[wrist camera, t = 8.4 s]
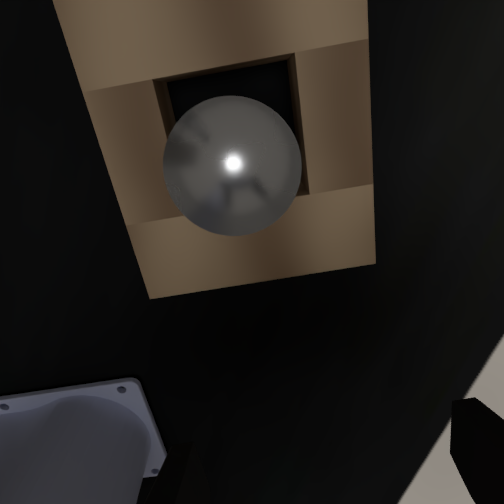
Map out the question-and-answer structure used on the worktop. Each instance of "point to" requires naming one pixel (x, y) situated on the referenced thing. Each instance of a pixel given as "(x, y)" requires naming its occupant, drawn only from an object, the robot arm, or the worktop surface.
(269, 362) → the worktop surface
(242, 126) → the metal peg
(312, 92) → the socket plate
